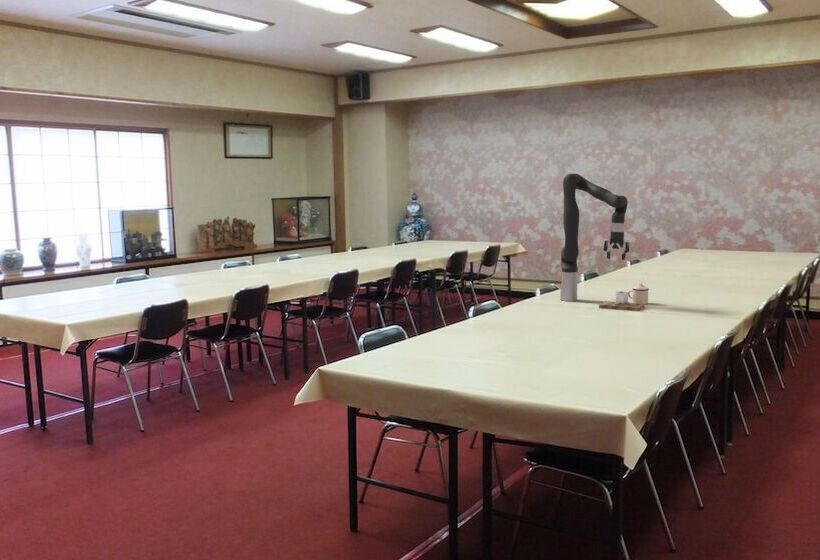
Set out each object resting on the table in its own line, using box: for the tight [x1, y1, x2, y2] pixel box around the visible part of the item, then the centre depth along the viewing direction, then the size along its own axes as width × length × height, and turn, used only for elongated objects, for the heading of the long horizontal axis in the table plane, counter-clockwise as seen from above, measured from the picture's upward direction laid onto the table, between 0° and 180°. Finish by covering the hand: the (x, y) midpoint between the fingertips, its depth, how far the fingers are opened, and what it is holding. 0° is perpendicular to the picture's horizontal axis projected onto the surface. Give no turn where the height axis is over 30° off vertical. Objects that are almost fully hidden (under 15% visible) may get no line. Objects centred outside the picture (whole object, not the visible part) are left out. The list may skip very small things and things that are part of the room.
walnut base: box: [598, 301, 646, 312], centre depth 415 cm, size 22×13×3 cm, turn 59°
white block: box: [615, 290, 629, 304], centre depth 414 cm, size 8×5×6 cm, turn 133°
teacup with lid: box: [627, 282, 650, 305], centre depth 428 cm, size 12×9×12 cm
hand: (615, 259), depth 421 cm, fingers open, 8 cm apart
